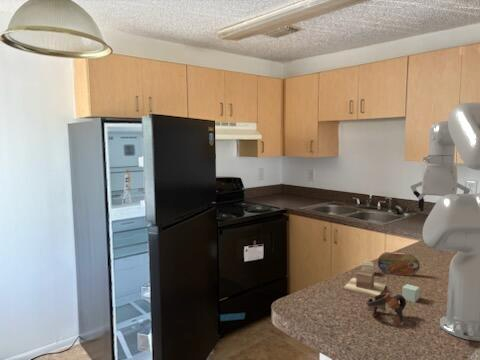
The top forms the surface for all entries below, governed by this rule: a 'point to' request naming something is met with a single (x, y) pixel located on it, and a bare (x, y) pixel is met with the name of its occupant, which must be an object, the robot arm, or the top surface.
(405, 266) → the tin
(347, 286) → the plate
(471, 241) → the robot arm
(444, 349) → the top surface
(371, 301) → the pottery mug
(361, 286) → the walnut block
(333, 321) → the top surface
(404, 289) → the sage block
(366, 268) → the maple block
